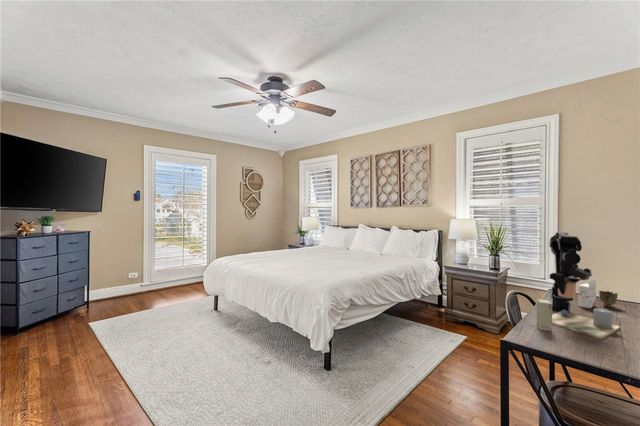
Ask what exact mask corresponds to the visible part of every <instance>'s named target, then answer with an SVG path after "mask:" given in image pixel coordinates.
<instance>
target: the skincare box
mask: <svg viewBox="0 0 640 426" xmlns="http://www.w3.org/2000/svg"><path fill="white" fill-rule="evenodd" d="M552 314H553V310H552V302H551V301H550V300H547V299H539V298H537V301H536V326H537V329H539V330H540V331H545V332H546V331H547V332H552V330H553V328H552V327H553V326H552V325H553V324H552Z"/></svg>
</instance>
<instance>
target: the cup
mask: <svg viewBox="0 0 640 426" xmlns="http://www.w3.org/2000/svg"><path fill="white" fill-rule="evenodd" d="M598 294H599V300H600V302H601V303H602V306H604V307H605V308H613V305H615V304H616V303H617V300H618V293H617V292H615V293H613V291H609V290H607V291H605V290H604V291H603V290H599V291H598Z"/></svg>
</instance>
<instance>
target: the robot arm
mask: <svg viewBox="0 0 640 426" xmlns="http://www.w3.org/2000/svg"><path fill="white" fill-rule="evenodd" d="M549 248H550V251H551V253H552V255H554V264H555V266H554V267H555V272H552V273H550V274H549V279H550V280H552V281H553V284H552V286H551V289H550V292H549V293H550V298H551V299H552V302H551V303H552V311H556V312H560V311H562V310H566V311H568V313H570V312H571V302H572V301H573V300H574V298H567V297H562V296H559V295H558V288H559V290H560V292H561V294H564V293H565V289H566V284H567V283H569V282H570V281H572V282H575V283H576V284H577V283H578V282H580V281H589V279H590V277H592V276H593V275H592V269H590V268H584V269H583V268H580V267H579V265H578V264H579V263H580V262H581V259H582V258H581V256H580V254H578V253H577V252H582V249H583V248H582V242H581V240H580V238H579V237H578V236H577V235H569V233H568V232H566V231H560V232H559V231H556V232H555V235H553V236H551V237H550V239H549Z"/></svg>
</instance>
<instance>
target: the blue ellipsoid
mask: <svg viewBox="0 0 640 426" xmlns="http://www.w3.org/2000/svg"><path fill="white" fill-rule="evenodd" d="M569 313H570V312H568V311H566V310H562V311H561V314H562V315H563V316H568V315H569Z"/></svg>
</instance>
